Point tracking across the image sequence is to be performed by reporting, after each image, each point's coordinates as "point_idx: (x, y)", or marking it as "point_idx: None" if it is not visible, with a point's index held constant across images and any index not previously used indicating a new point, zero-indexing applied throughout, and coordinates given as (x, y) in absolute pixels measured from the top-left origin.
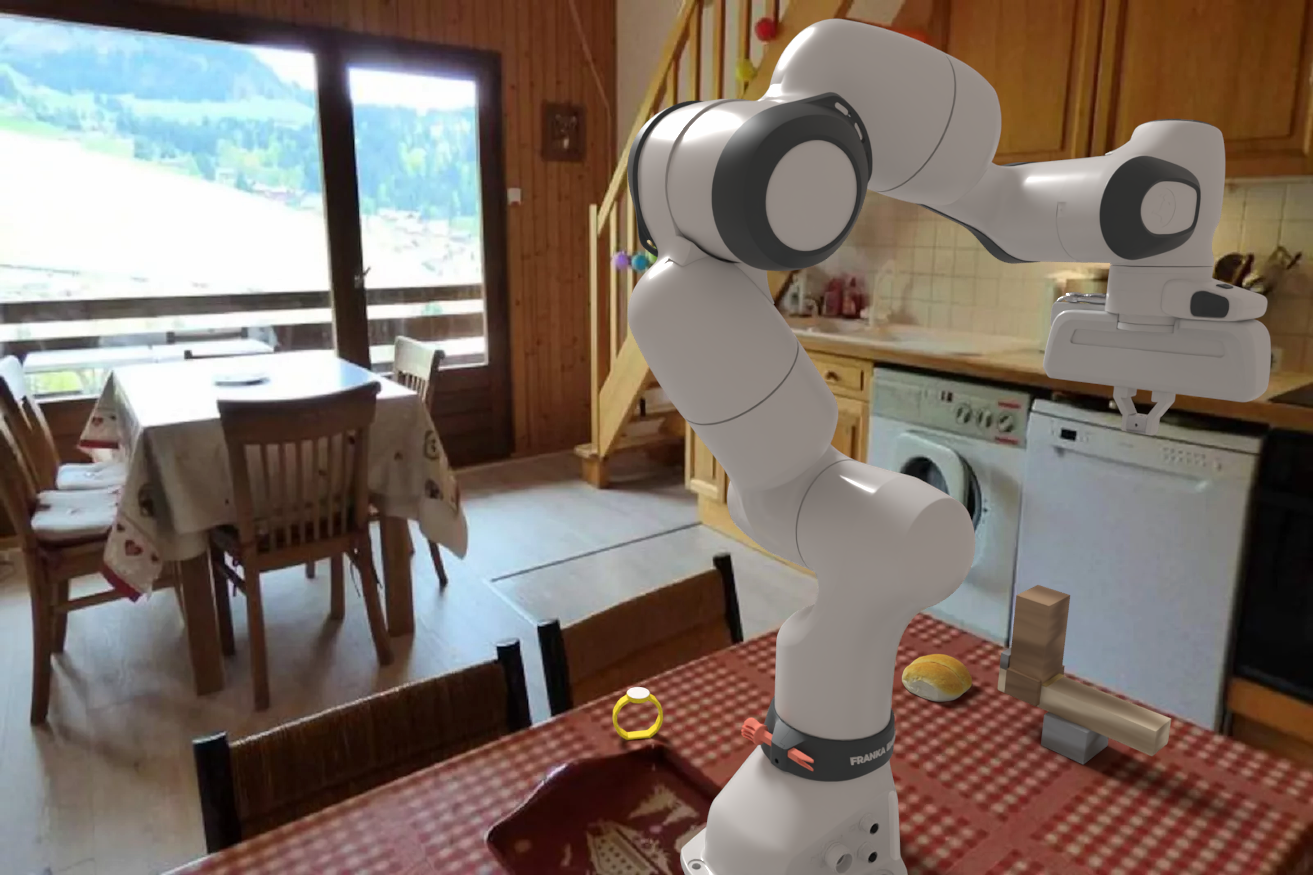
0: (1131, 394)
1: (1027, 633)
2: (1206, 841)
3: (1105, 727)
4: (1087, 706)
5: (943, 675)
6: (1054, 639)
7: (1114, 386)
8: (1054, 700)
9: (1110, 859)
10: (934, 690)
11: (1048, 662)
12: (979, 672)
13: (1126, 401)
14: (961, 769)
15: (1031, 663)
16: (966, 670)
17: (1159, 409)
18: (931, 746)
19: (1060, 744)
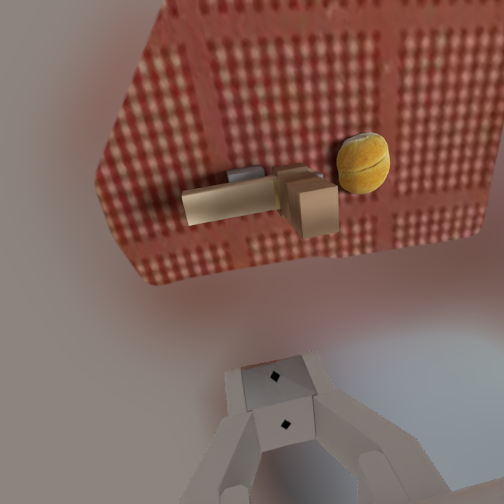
0: (361, 495)
1: (307, 181)
2: (125, 165)
3: (219, 186)
4: (236, 185)
5: (355, 153)
6: (288, 202)
7: (452, 494)
8: (263, 179)
9: (138, 79)
10: (350, 140)
11: (282, 189)
12: (350, 211)
13: (359, 451)
14: (270, 73)
15: (291, 176)
16: (350, 185)
17: (207, 461)
18: (305, 79)
19: (245, 168)
